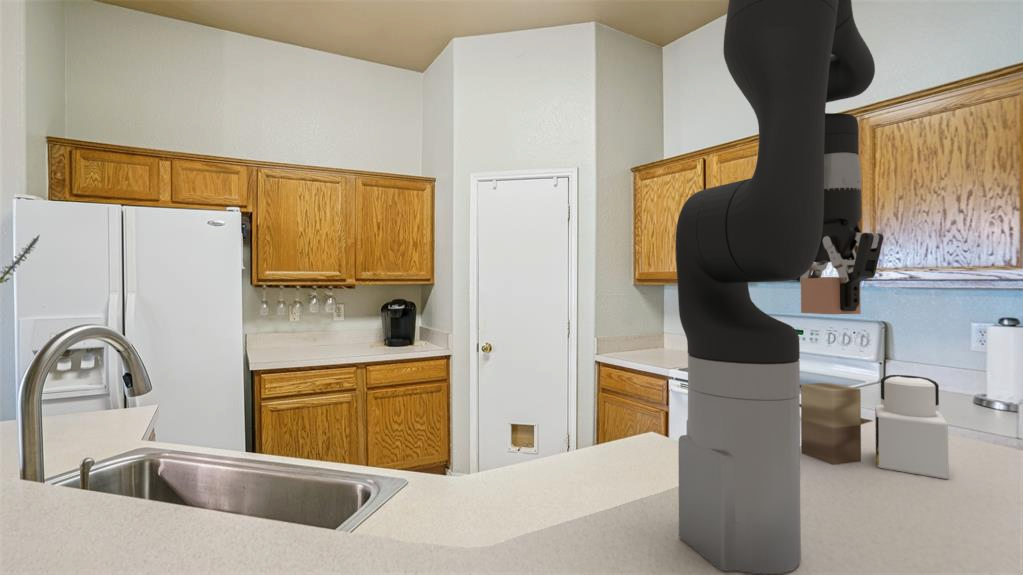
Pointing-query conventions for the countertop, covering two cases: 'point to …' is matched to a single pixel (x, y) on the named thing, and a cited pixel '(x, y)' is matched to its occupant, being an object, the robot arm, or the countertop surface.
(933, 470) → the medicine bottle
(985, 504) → the countertop surface
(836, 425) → the tower top
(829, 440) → the tower bottom
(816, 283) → the clay block
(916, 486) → the countertop surface
